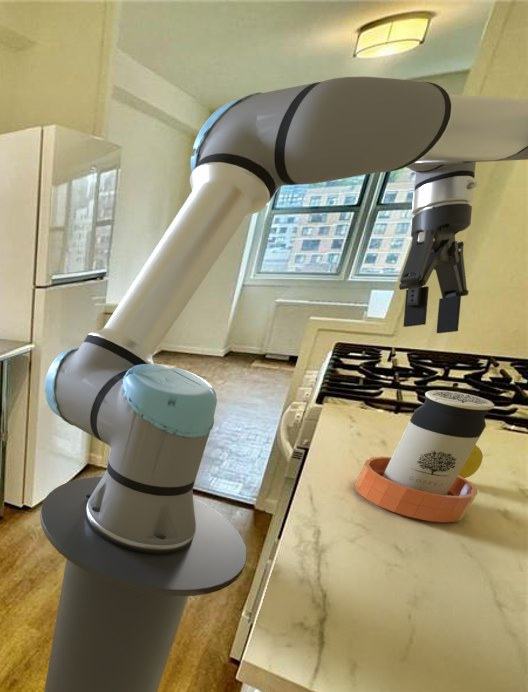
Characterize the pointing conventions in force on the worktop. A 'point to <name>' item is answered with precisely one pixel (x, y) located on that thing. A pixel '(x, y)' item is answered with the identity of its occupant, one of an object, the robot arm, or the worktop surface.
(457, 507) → the bowl
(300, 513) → the worktop surface
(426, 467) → the travel mug
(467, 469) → the lemon
